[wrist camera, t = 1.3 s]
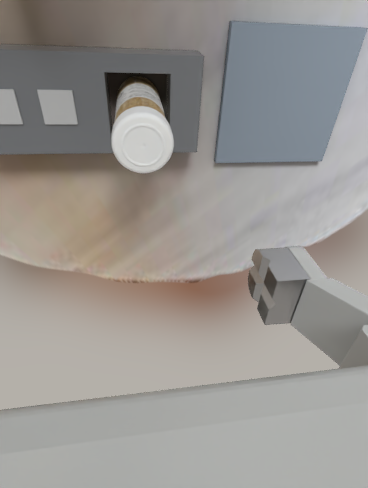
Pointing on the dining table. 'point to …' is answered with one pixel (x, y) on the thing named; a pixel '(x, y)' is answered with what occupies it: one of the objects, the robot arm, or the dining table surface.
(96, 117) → the power strip
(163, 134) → the sprinkles bottle
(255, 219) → the dining table surface
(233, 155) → the rubber mat
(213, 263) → the dining table surface
